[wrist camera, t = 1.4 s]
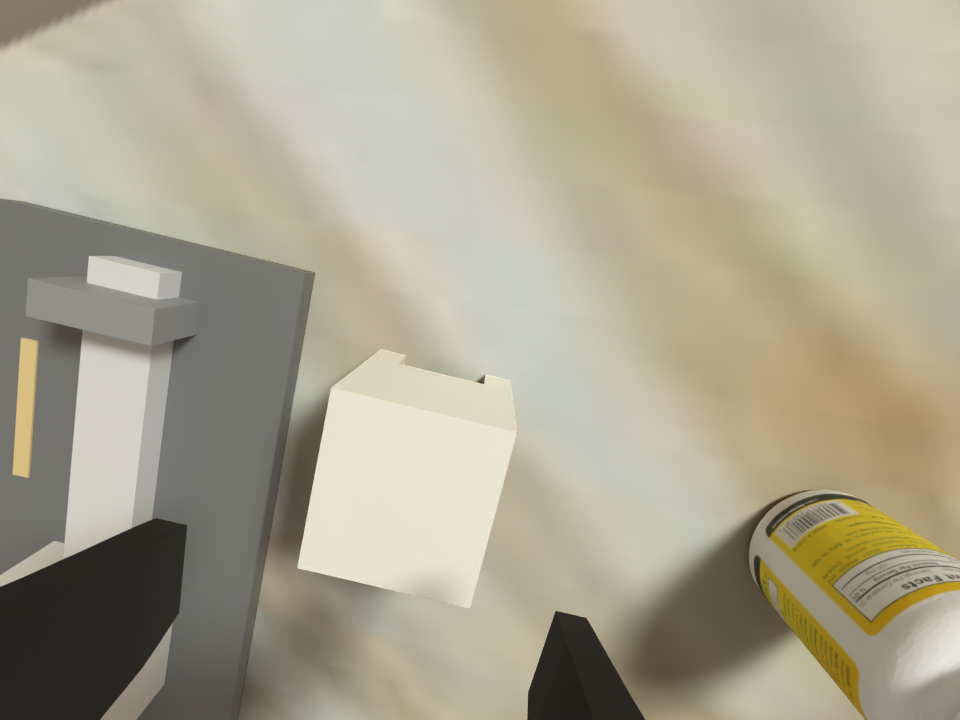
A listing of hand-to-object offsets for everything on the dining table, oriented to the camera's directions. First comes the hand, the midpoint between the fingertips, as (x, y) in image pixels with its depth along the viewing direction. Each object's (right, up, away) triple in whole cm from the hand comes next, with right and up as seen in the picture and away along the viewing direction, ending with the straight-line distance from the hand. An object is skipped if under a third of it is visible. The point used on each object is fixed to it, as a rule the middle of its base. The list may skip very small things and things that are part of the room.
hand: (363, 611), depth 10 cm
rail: (-12, -1, +11) cm, 16 cm away
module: (0, +2, +10) cm, 11 cm away
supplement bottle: (+16, -3, +11) cm, 19 cm away
